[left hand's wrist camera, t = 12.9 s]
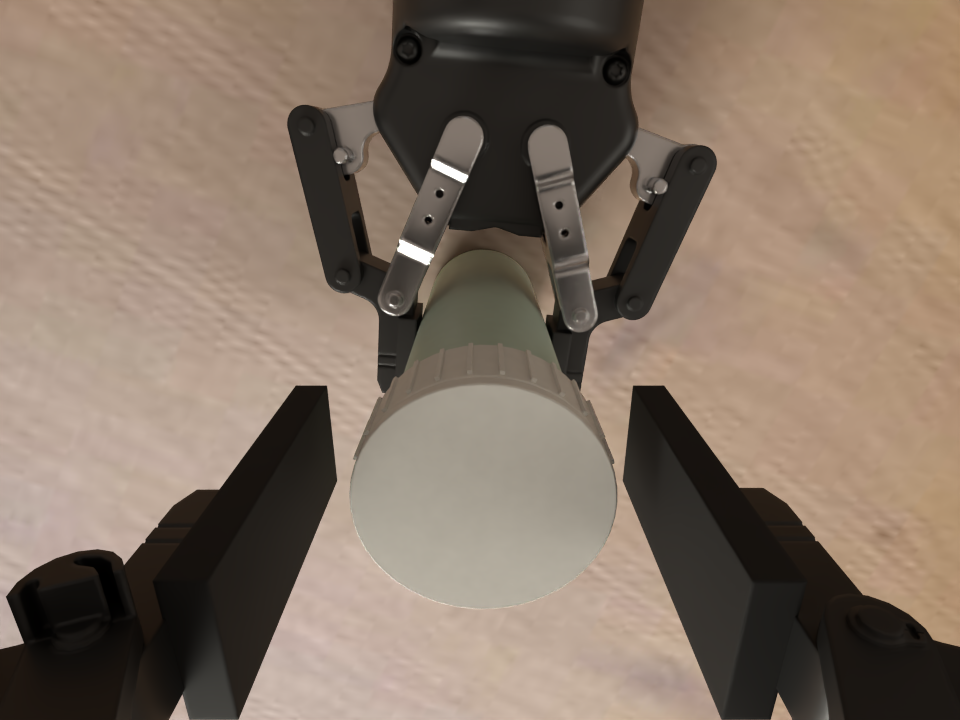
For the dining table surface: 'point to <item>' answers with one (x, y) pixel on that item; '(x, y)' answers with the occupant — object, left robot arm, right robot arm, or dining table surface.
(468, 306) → the jar
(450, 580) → the lid
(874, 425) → the dining table surface
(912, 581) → the dining table surface
